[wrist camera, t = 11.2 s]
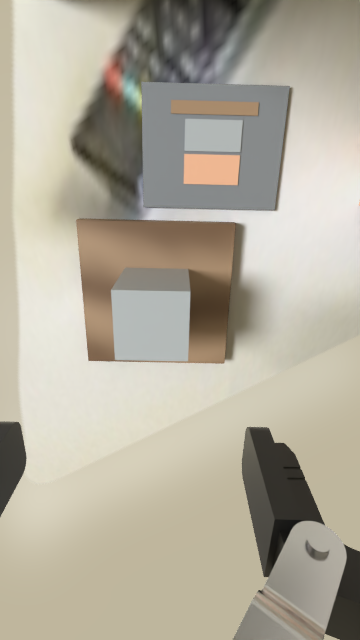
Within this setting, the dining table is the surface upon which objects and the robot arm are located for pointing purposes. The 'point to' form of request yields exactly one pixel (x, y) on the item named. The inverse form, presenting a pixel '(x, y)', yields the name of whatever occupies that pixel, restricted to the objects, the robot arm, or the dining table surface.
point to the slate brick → (151, 314)
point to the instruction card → (212, 145)
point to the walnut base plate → (158, 252)
